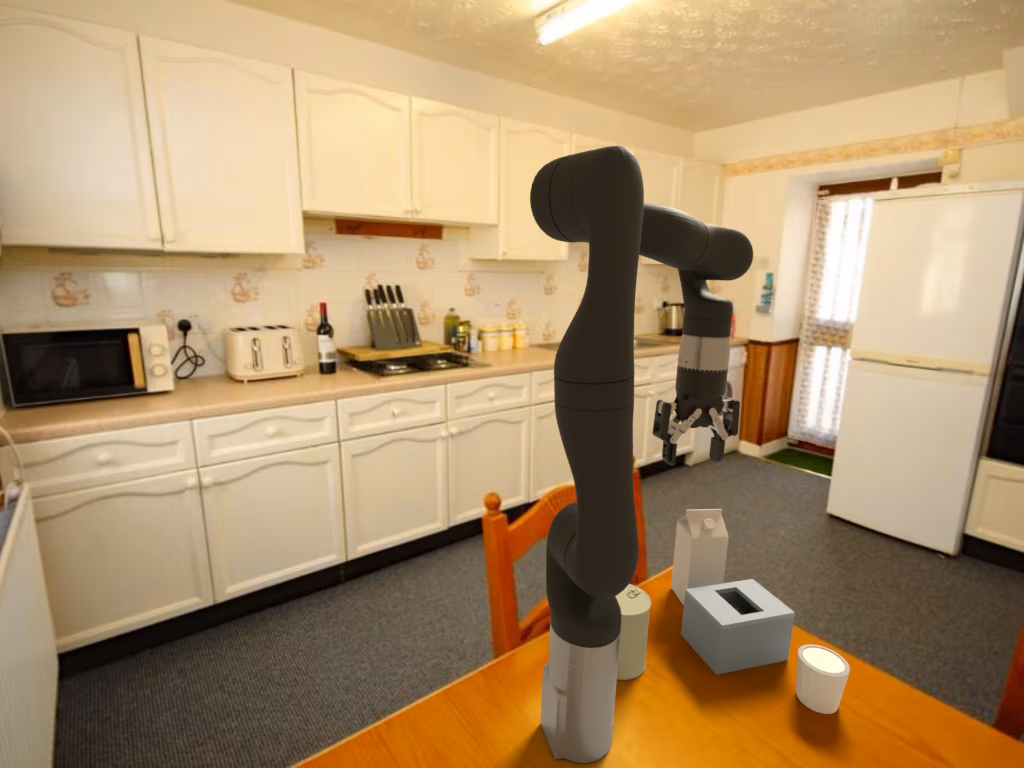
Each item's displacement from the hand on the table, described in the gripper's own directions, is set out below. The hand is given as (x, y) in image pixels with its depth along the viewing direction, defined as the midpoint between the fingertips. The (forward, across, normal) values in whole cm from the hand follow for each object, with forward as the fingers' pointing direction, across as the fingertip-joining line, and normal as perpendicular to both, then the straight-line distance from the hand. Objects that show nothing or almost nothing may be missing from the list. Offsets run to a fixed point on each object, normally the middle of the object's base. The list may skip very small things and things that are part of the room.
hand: (692, 461), depth 86 cm
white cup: (+33, +14, -17) cm, 40 cm away
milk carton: (+33, +11, +10) cm, 36 cm away
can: (+33, -12, -2) cm, 35 cm away
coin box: (+33, +9, -4) cm, 35 cm away
